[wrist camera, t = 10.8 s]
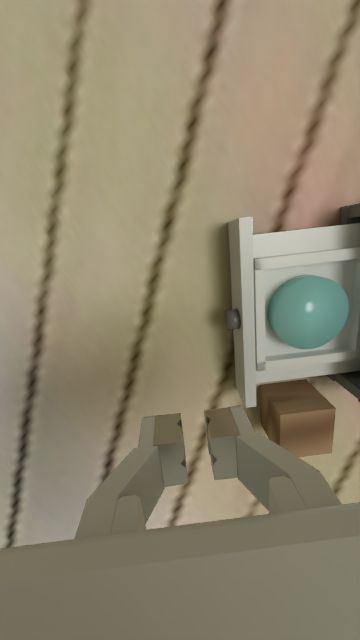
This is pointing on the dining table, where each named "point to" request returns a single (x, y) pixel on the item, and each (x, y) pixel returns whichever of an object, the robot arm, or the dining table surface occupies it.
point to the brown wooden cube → (297, 417)
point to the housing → (354, 381)
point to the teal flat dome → (308, 311)
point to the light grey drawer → (265, 278)
